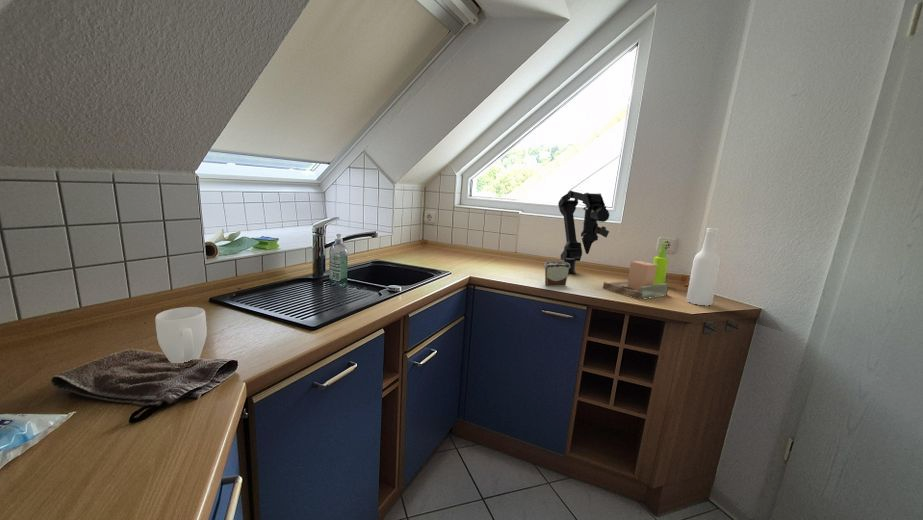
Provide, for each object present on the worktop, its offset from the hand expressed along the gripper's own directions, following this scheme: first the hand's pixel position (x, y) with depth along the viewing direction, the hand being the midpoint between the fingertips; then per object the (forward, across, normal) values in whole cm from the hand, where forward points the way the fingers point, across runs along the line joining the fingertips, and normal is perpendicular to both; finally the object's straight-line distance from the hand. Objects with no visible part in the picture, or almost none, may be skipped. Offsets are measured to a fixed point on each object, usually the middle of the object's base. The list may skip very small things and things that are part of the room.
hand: (587, 253), depth 175 cm
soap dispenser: (+13, +7, -33) cm, 36 cm away
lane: (+13, -12, -20) cm, 27 cm away
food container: (+13, -16, +14) cm, 25 cm away
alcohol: (+14, -19, -43) cm, 49 cm away
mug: (+16, -125, +87) cm, 153 cm away
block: (+11, -13, -22) cm, 28 cm away
